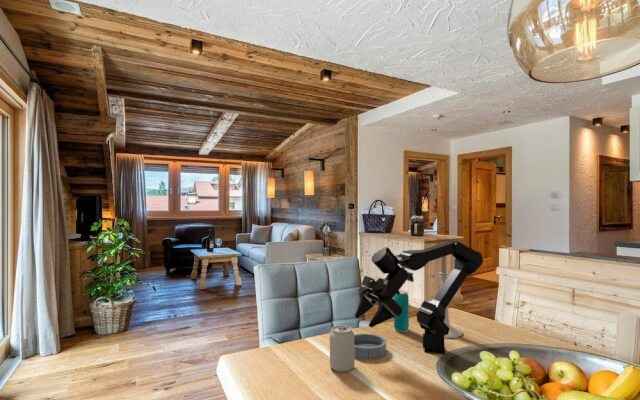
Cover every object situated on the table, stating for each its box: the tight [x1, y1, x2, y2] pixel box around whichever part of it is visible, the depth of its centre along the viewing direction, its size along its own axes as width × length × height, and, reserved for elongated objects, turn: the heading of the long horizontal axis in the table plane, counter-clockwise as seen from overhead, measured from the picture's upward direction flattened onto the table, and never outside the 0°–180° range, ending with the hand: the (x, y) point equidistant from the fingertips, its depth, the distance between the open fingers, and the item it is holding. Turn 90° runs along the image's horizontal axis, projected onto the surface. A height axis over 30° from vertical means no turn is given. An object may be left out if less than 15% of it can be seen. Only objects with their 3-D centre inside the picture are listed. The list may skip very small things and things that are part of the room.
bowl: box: [354, 333, 387, 361], centre depth 118 cm, size 13×13×4 cm
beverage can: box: [393, 289, 410, 333], centre depth 138 cm, size 6×6×15 cm
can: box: [329, 324, 356, 373], centre depth 106 cm, size 8×8×12 cm
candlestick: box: [438, 256, 463, 339], centre depth 135 cm, size 13×13×30 cm
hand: (362, 321), depth 109 cm, fingers open, 9 cm apart
